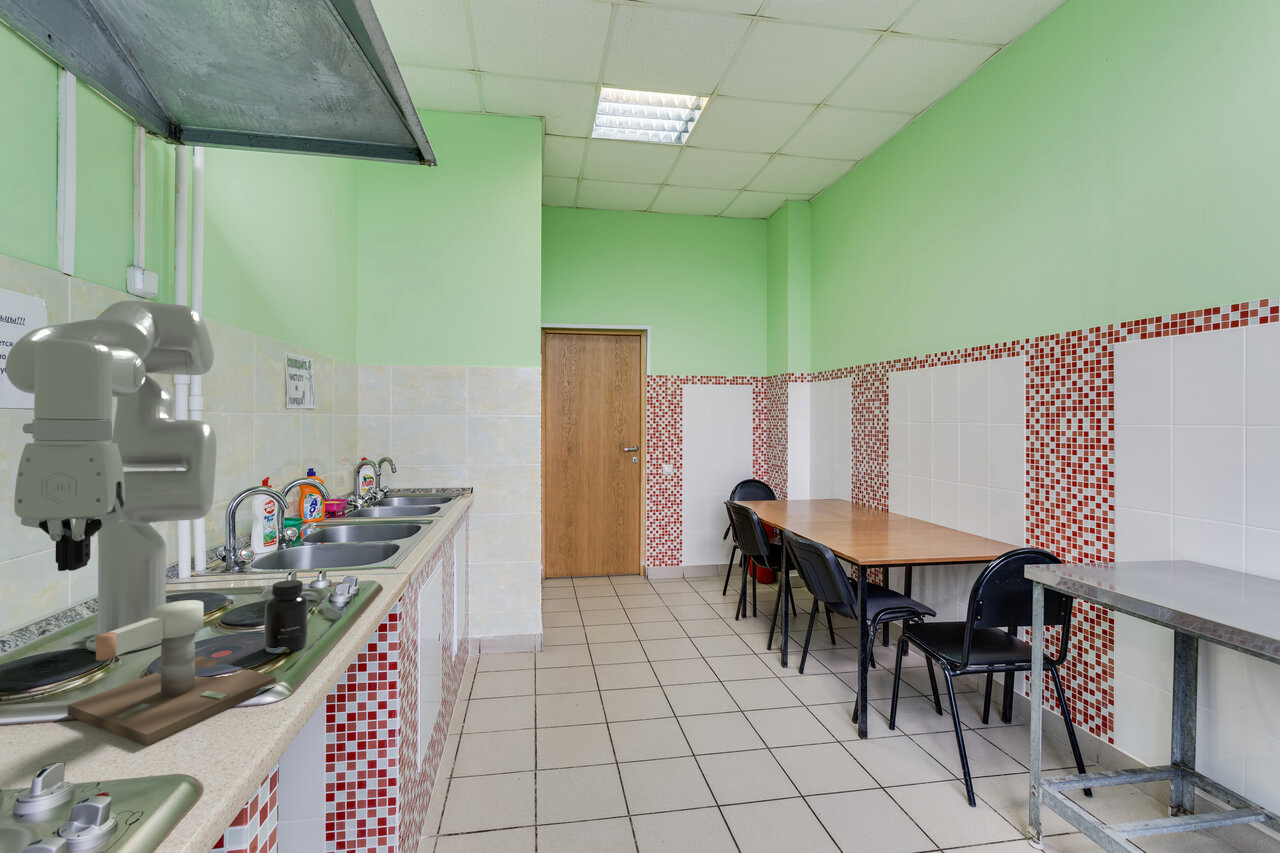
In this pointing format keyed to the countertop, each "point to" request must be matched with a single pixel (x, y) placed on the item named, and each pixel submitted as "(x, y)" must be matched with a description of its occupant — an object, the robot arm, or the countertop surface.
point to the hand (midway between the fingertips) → (73, 567)
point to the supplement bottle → (286, 616)
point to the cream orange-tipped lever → (152, 628)
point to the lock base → (168, 696)
